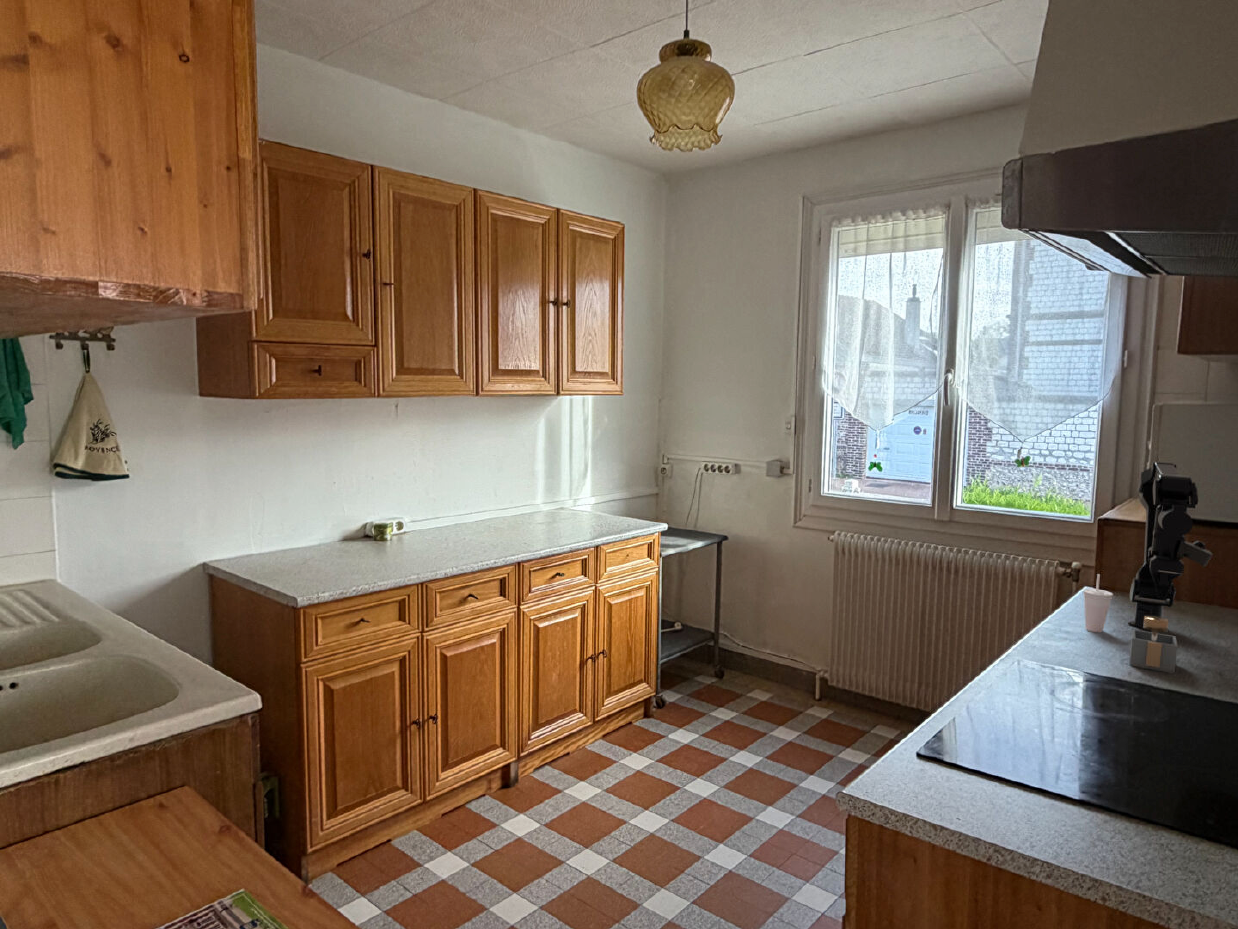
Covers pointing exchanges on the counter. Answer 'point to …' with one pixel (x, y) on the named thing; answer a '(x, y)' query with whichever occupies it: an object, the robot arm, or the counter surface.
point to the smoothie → (1096, 607)
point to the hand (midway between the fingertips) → (1161, 594)
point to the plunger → (1155, 625)
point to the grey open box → (1153, 651)
